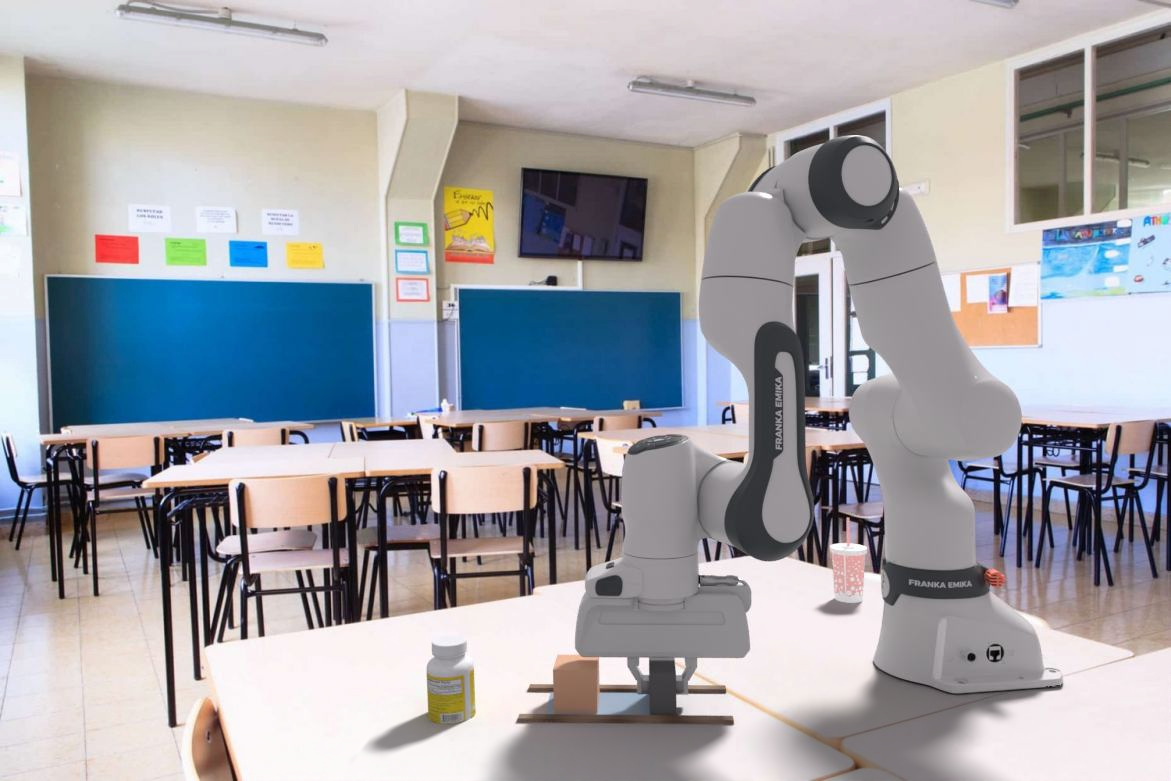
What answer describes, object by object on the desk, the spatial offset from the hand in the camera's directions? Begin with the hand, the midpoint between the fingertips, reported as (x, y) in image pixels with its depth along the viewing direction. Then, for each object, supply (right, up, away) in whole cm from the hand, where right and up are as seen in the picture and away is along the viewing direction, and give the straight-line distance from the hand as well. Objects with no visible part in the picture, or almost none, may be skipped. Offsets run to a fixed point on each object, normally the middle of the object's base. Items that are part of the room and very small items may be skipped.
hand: (662, 692), depth 98 cm
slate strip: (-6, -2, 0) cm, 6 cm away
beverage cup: (+36, -1, +46) cm, 58 cm away
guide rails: (-4, -3, 0) cm, 5 cm away
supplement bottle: (-24, -3, -1) cm, 25 cm away
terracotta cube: (-10, -2, +1) cm, 10 cm away
